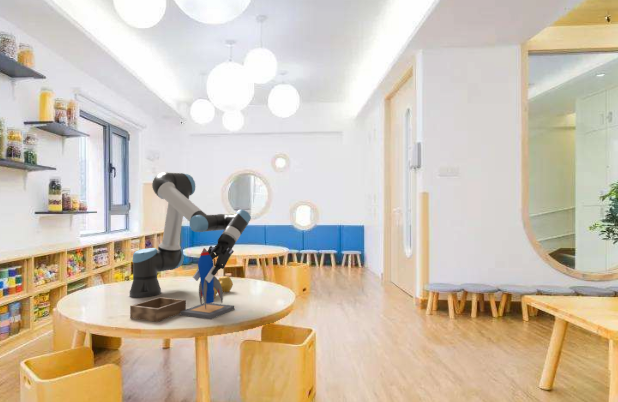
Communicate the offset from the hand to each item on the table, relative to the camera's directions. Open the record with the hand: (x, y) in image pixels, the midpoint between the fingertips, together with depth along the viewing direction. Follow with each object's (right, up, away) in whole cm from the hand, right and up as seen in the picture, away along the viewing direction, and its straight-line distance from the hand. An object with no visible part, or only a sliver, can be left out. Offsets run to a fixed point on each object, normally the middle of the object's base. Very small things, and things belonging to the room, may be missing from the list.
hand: (201, 279), depth 165 cm
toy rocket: (+2, -12, +3) cm, 13 cm away
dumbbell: (-1, -15, +35) cm, 38 cm away
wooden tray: (-18, -15, 0) cm, 23 cm away
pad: (+2, -14, +3) cm, 15 cm away
